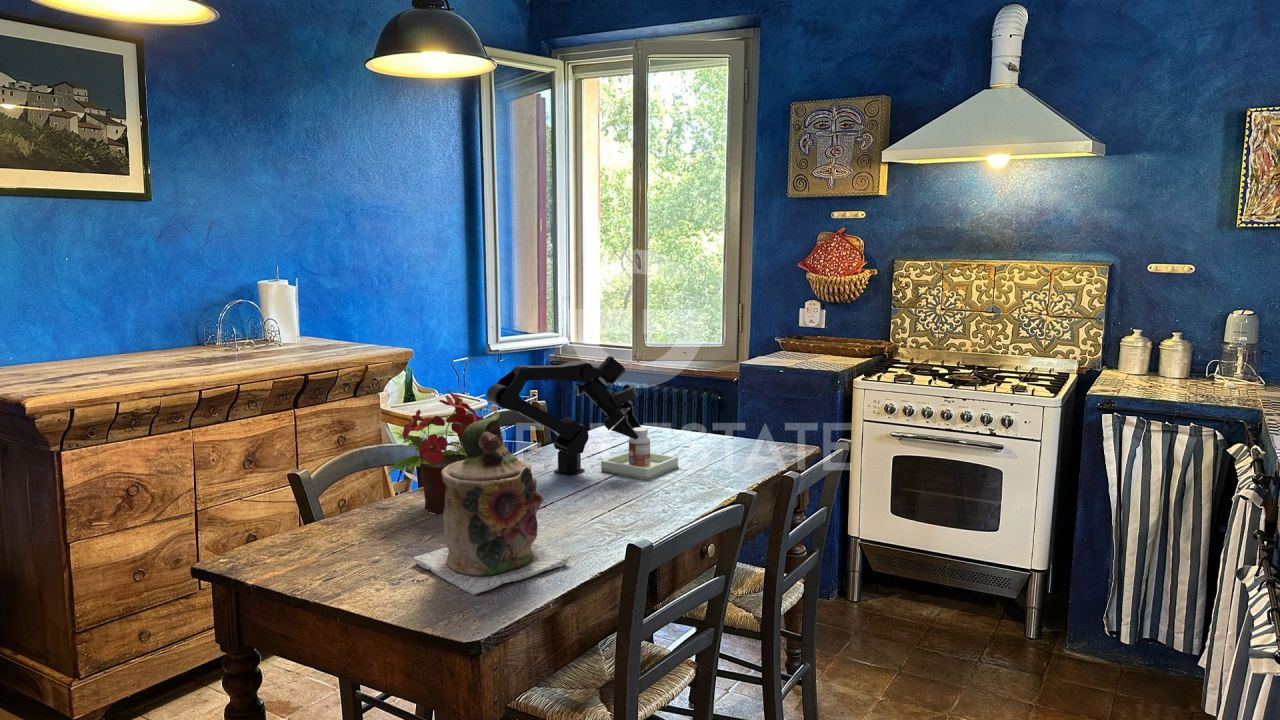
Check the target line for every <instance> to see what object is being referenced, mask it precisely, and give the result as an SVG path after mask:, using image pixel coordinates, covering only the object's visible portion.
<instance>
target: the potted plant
mask: <svg viewBox="0 0 1280 720" xmlns="http://www.w3.org/2000/svg"><path fill="white" fill-rule="evenodd" d="M444 390H445V391H446V392H447V393H448V394H449V395H450V396H451V397H450V396H449V395H448V394H447V395H445V400H443V399H440V400H438V402H439V403H442V404H444V405H446V406H452V407H453V408H454V411H453V413H452V414H451V415H449V416H447V417H446V419H443V418H442V417H440V416H439V415H435V416H433V418H430V417H428V416H427V417H425V418H423V417H421V411H422V410H421V409H418V410H416V412H415V414H413V415H412V416H411V419H412V420H410V422H409V423H405V424H404V426H403V430H402V431H400V432H401V433H400V432H395V431H390V433H391V434H394V435H395V434H396V435H398V436H397V437H396V438H397V439H403V442H402V444H404V443H406V444H407V443H408V447H413V446H416V448H415V453H419V455H411V456H408V457H404V458H402V459H401V460H399V461H397V462H396V463H394V464H393V465H391V466H390V467H389V468H390V469H391V470H390V471H389V472H388V473H387V475H386V477H388V476H389V475H391V474H392V473H394V472H396V471H397V470H400V471H401V472H402V473H403V472H404V471H405V469H408V470H411V471H412V470H413V468H414V467H418V468H420V473H421V481H422V486H423V494H424V495H423V496H424V500H425V501H424V502H425V504H424V510H425V511H426V510H427V511H428V512H427V511H426V512H427V513H429V512H431V513H430V514H432V513H435V514H434V515H438V514H444V508H445V491H446V484H445V483H444V482H443V479H442V474H441V471H442V470H443V469H444V468H445V467H447V466H448V465H450V464H452V463H455V462H457V461H462V460H465V459H466V456H467V455H466V453H465V450H464V448H463V445H462V443H463V441H462V442H460V440H461V436H463V433H464V431H465V429H466V428H467V427H468V426H469V425H470V424H472V423H474V422H477V421H480V420H484V419H485V418H484V416H478V415H477V412H476V411H475V410H474V409H473V408H472V407H471V406H470V405H469V404H468V403H466V401H464V399H463V398H461V397H460V395H458V394H455V393H452V392H451V391H450V390H448V389H446V388H444ZM467 411H470V412H471V413H469V412H467ZM418 421H419V422H418ZM446 423H448V424H447V426H446V429H445V436H444V435H439V436H438V434H436V433H432V434H430V429H429V428H430V425H434V426H435V427H436V426H437V427H444V426H445V425H446ZM450 424H451V431H452V432H454V433H455V434H457V435H459V438H458V441H451V442H448V439H447V437H448V435H447V434H448V427H449V426H450ZM426 428H427V433H425V432H424V431H423V430H424V429H426ZM411 432H422V433H423V434H424V435H425V436H427V438H424V439H423V440H422V438H420V437H418V436H414V435H412V434H411V435H410V433H411ZM459 445H460V446H459ZM448 446H452V447H454V446H455V447H456V450H453V449H452V450H451V449H449V450H448V449H447V447H448ZM392 468H393V469H392Z"/></svg>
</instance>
